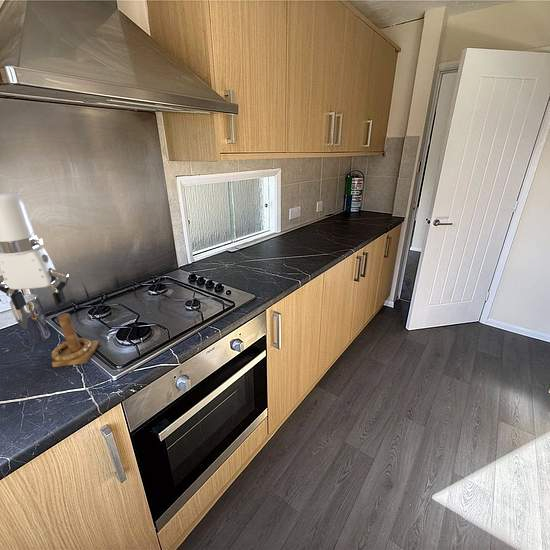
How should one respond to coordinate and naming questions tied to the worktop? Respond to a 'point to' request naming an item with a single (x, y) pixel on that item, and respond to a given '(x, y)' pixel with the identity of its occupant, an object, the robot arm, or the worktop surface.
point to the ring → (74, 355)
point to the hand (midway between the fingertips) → (41, 305)
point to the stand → (73, 343)
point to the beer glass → (32, 319)
